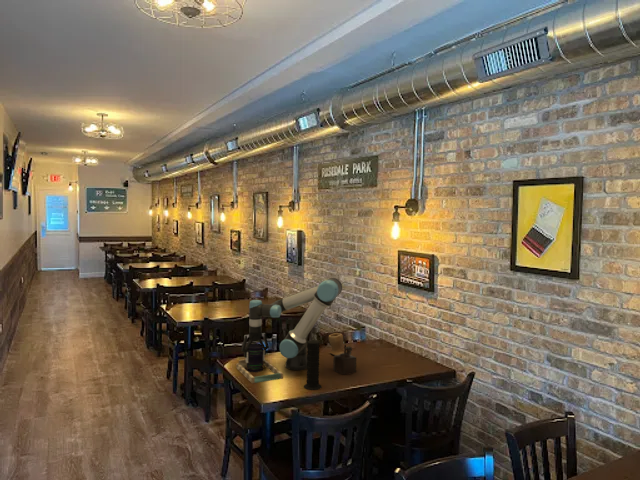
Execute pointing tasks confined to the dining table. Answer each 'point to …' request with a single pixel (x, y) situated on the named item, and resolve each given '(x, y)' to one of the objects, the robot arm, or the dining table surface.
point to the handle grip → (312, 366)
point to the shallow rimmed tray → (276, 375)
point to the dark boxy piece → (345, 362)
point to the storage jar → (255, 358)
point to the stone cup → (336, 343)
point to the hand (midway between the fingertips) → (255, 361)
